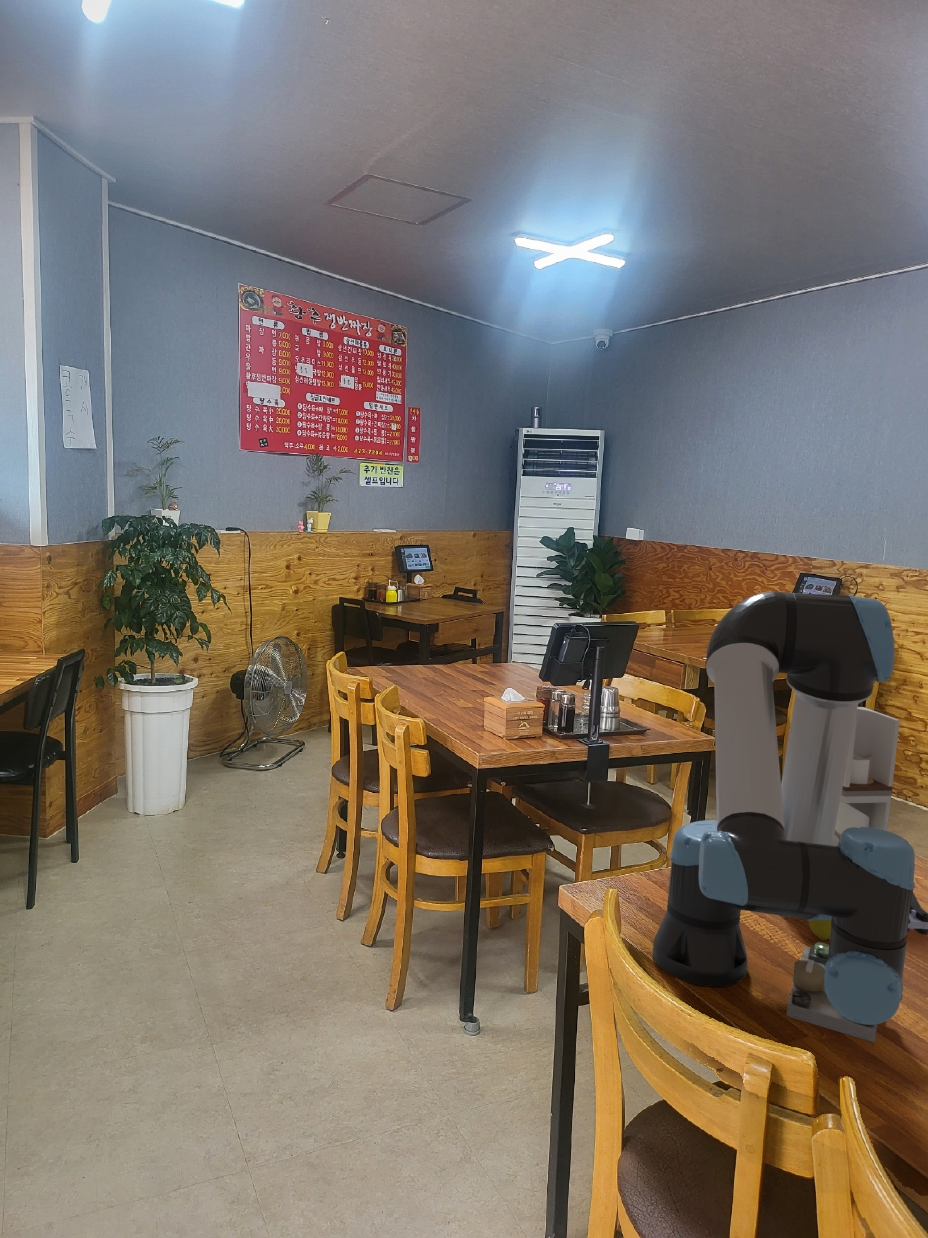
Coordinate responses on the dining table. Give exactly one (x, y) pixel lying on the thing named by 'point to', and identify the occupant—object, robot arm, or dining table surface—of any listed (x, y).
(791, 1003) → the bolted mounting base
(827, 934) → the lemon
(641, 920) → the dining table surface
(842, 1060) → the dining table surface
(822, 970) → the blue and beige lever
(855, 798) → the white shelving unit
